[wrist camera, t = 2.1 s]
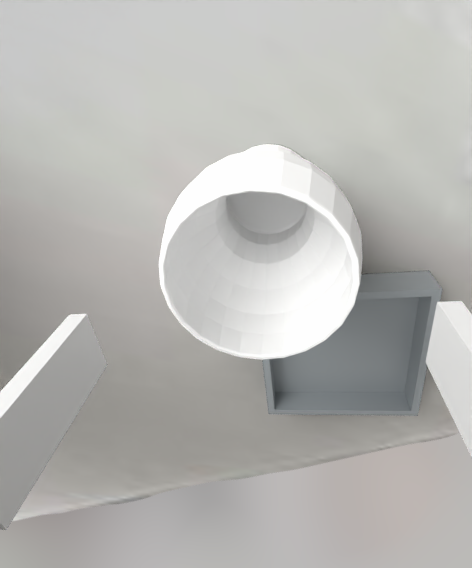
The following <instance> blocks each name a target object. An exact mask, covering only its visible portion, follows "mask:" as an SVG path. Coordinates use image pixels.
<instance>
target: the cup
mask: <svg viewBox="0 0 472 568" xmlns="http://www.w3.org/2000/svg"><path fill="white" fill-rule="evenodd" d="M362 260H363V255H362V233H361V231H360V228H359V225H358V222H357V220H356V217H355V214H354V212H353V209H352V207H351V205H350V203H349V201H348V199H347V198H346V196H345V195H344V193H343V192H342V191H341V189H340V188H339V187H338V185H337V184H336V183H335V182H334V180H333V179H332V178H331V176H329V175H328V174H327V173H325V172H324V171H323V170H321V169H320V168H318V167H317V166H316V165H314V164H313V163H312V162H310V161H308V160H306V159H303V158H302V157H301V156H299V155H298V154H297V153H295V152H294V151H293V150H291V149H289V148H286V147H283V146H280V145H272V144H264V145H259V146H254V147H252V148H250V149H248V150H246V151H244V152H242V153H238V154H233V155H229V156H227V157H225V158H223V159H222V160H220V161H218V162H216V163H214V164H212V165H210V166H208V167H207V168H206V169H204V170H203V171H202V172H201V173H200V174H199V175H198V176H197V177H196V178H195V179H194V180H193V181H192V182H191V183H190V184H189V185H188V186H187V187H186V188H185V190H184V191H183V192H182V193H181V194H180V196H179V197H178V199H177V201H176V203H175V204H174V206H173V208H172V210H171V212H170V213H169V215H168V217H167V221H166V226H165V230H164V235H163V239H162V245H161V252H160V258H159V273H160V286H161V288H162V291H163V294H164V296H165V299H166V302H167V304H168V307H169V308H170V310H171V311H172V312H173V314H174V315H175V317H176V318H177V320H178V321H179V322H180V324H181V325H182V326H183V327H184V328H185V329H187V330H188V331H189V332H190V333H191V334H192V335H193V336H194V337H196V338H197V339H198V340H200V341H202V342H203V343H205V344H207V345H209V346H210V347H212V348H214V349H216V350H218V351H221V352H224V353H227V354H230V355H234V356H237V357H242V358H251V359H260V360H263V359H275V358H285V357H288V356H291V355H295V354H298V353H301V352H305V351H307V350H309V349H310V348H312V347H314V346H316V345H318V344H319V343H321V342H323V341H325V340H326V339H327V338H328V337H329V336H330V335H331V334H333V333H334V332H335V331H336V330H337V329H338V328H339V327H340V326H341V325H342V324H343V322H344V321H345V319H346V318H347V316H348V314H349V313H350V311H351V310H352V308H353V306H354V304H355V301H356V297H357V293H358V289H359V286H360V281H361V271H362Z"/></svg>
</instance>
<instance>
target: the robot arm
mask: <svg viewBox="0 0 472 568" xmlns="http://www.w3.org/2000/svg"><path fill="white" fill-rule="evenodd" d="M426 364H427V366H428V368H429V370H430V372H431V375H432V377H433V379H434V381H435V383H436V385H437V387H438V389H439V391H440V393H441V395H442V397H443V399H444V401H445V403H446V405H447V408H448V410H449V412H450V414H451V416H452V418H453V420H454V422H455V424H456V426H457V428H458V430H459V432H460V434H461V436H462V439H463V441H464V442H465V445H466V447H467V449H468V451H469V453H470V455H471V457H472V314H471V313H470V311H469V310H468V309H467V308H466V306H465V305H464V304H463V302H462V301H449V302H437V305H436V310H435V315H434V321H433V326H432V331H431V336H430V341H429V347H428V352H427V357H426ZM107 365H108V364H107V362H106V359H105V357H104V354H103V352H102V349H101V347H100V345H99V342H98V340H97V337H96V335H95V332H94V330H93V327H92V325H91V323H90V320H89V318H88V315H87V314H70V315H69V316H68V317H67V318H66V319H65V320H64V321H63V323H62V324H61V325H60V326H59V327H58V328H57V329H56V330H55V331H54V333H53V334H52V335H51V336H50V337H49V338H48V339H47V340H46V341H45V343H44V344H43V345H42V346H41V347H40V348H39V349H38V350H37V352H36V353H35V354H34V355H33V356H32V357H31V358H30V359H29V360H28V362H27V363H26V364H25V365H24V366H23V367H22V368H21V369H20V370H19V372H18V373H17V374H16V375H15V376H14V377H13V378H12V379H11V380H10V382H9V383H8V384H7V385H6V386H5V387H4V388H3V389H2V391H0V529H2V530H3V529H4V530H7V528H8V527H9V525H10V523H11V522H12V520H13V518H14V517H15V515H16V514H17V512H18V510H19V509H20V507H21V505H22V504H23V502H24V500H25V499H26V497H27V496H28V494H29V492H30V491H31V489H32V487H33V486H34V484H35V482H36V481H37V479H38V478H39V476H40V474H41V473H42V471H43V469H44V468H45V466H46V464H47V463H48V461H49V460H50V458H51V456H52V455H53V453H54V451H55V450H56V448H57V447H58V445H59V443H60V442H61V440H62V438H63V437H64V435H65V433H66V432H67V430H68V429H69V427H70V425H71V424H72V422H73V420H74V419H75V417H76V415H77V414H78V412H79V411H80V409H81V407H82V406H83V404H84V402H85V401H86V399H87V398H88V396H89V394H90V393H91V391H92V389H93V388H94V386H95V384H96V383H97V381H98V380H99V378H100V376H101V375H102V373H103V371H104V370H105V368H106V366H107Z"/></svg>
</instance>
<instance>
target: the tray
mask: <svg viewBox="0 0 472 568" xmlns="http://www.w3.org/2000/svg"><path fill="white" fill-rule="evenodd" d="M441 294H442V288H441V286H440V285H439V283H438V282H437V281H436V279H435V278H434V277H433V275H432V274H431V273H430V271H414V272H395V273H376V274H361V281H360V286H359V289H358V293H357V297H356V301H355V304H354V306H353V308H352V310H351V311H350V313H349V314H348V316H347V318H346V319H345V321H344V322H343V324H342V325H341V326H340V327H339V328H338V329H337V330H336V331H335V332H334V333H333V334H331V335H330V336H329V337H328V338H327V339H326V340H325V341H323V342H321V343H319V344H318V345H316V346H314V347H312V348H310V349H309V350H307V351H305V352H301V353H298V354H295V355H291V356H288V357H285V358H275V359H263V360H262V362H263V370H264V379H265V387H266V396H267V404H268V413H269V414H298V415H409V416H418V411H419V406H420V401H421V396H422V391H423V386H424V381H425V376H426V371H427V364H426V357H427V352H428V347H429V341H430V336H431V331H432V326H433V321H434V315H435V310H436V305H437V302H440V299H441Z"/></svg>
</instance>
